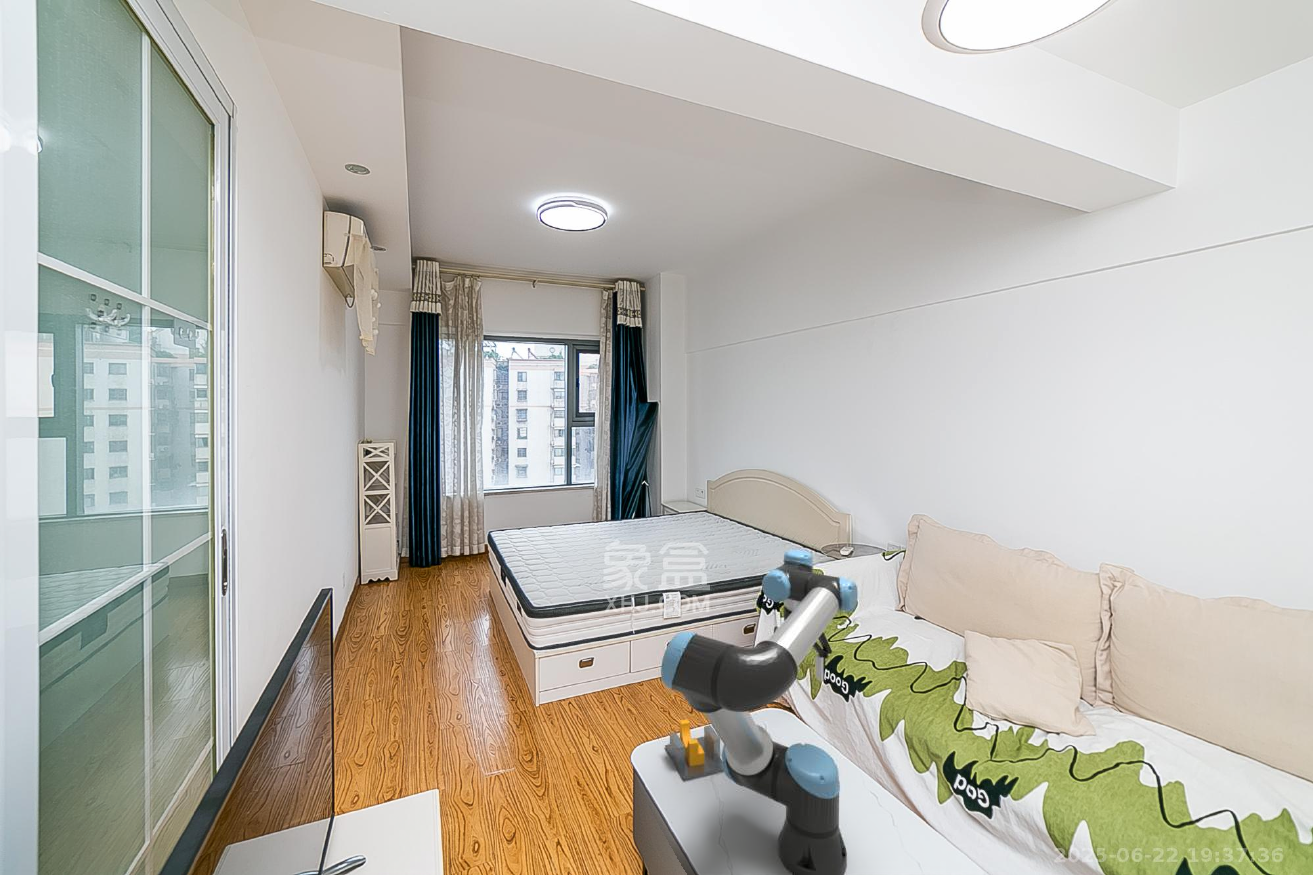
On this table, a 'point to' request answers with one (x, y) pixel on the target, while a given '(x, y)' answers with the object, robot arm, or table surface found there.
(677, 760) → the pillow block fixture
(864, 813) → the table surface
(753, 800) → the table surface
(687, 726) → the orange angled block
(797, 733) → the table surface
